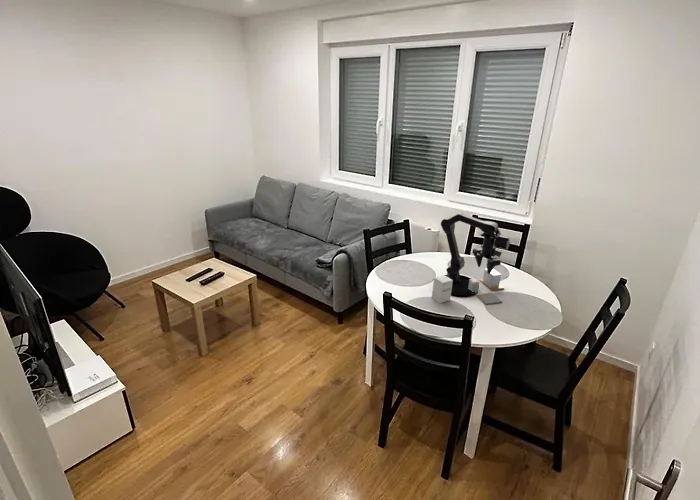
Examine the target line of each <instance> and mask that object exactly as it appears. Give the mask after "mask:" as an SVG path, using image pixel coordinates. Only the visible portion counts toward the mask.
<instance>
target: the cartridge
mask: <svg viewBox="0 0 700 500" xmlns="http://www.w3.org/2000/svg"><path fill="white" fill-rule="evenodd" d="M479 286H480V280H478V278H469V279H468V286H467V287H468V288H467V290H468V289H469V290H471V291H472V292H475V293H474V294H479V288H480V287H479Z"/></svg>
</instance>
